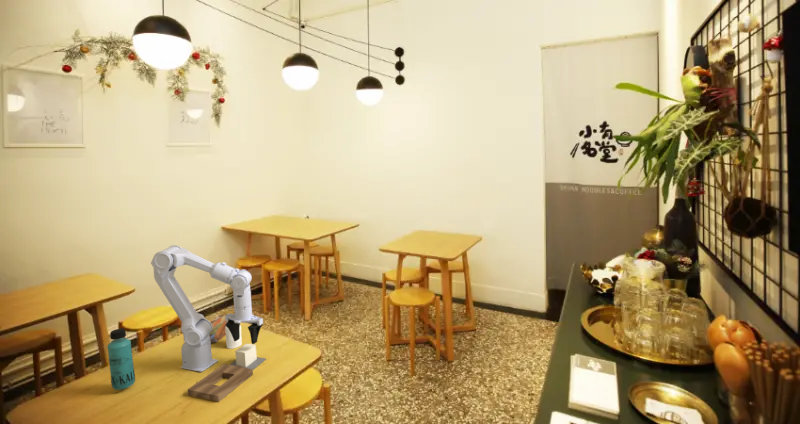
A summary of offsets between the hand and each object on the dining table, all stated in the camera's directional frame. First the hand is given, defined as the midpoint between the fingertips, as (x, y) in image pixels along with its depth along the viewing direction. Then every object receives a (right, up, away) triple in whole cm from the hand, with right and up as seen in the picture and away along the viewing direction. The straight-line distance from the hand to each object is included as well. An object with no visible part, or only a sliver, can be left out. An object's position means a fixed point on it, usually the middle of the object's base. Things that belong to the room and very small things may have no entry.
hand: (245, 341), depth 147 cm
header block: (-3, -10, -12) cm, 16 cm away
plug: (0, -8, +1) cm, 8 cm away
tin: (-19, -6, +22) cm, 30 cm away
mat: (0, -8, +1) cm, 8 cm away
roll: (-10, -7, +15) cm, 19 cm away
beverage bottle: (-34, -11, -13) cm, 38 cm away
